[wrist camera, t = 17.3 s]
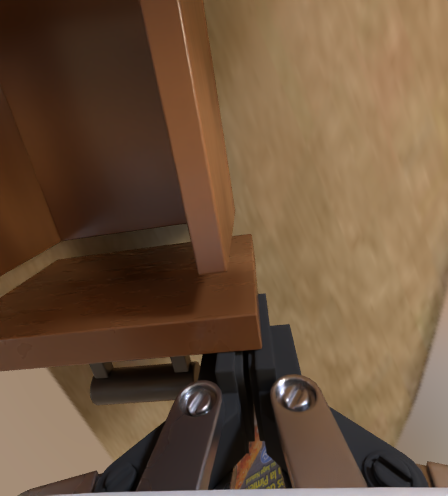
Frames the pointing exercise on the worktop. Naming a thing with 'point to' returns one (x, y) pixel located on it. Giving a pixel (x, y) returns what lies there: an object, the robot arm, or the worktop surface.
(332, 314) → the worktop surface
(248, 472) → the tin
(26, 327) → the drawer
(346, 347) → the worktop surface
